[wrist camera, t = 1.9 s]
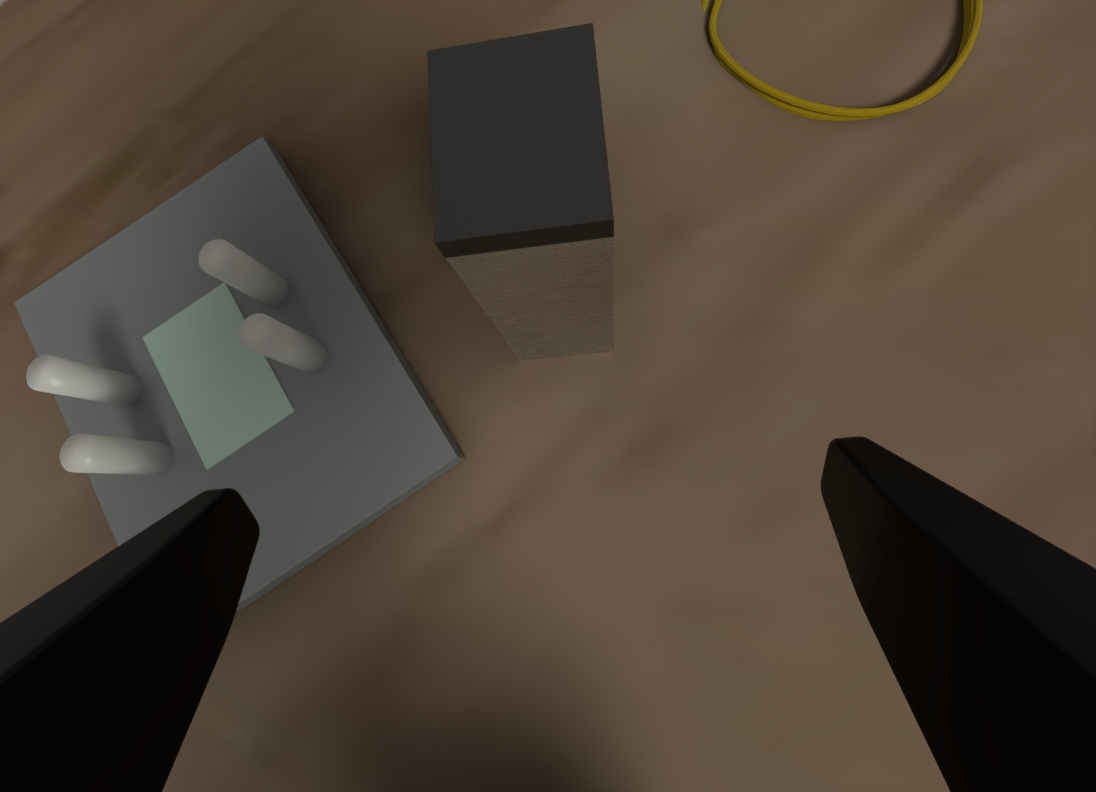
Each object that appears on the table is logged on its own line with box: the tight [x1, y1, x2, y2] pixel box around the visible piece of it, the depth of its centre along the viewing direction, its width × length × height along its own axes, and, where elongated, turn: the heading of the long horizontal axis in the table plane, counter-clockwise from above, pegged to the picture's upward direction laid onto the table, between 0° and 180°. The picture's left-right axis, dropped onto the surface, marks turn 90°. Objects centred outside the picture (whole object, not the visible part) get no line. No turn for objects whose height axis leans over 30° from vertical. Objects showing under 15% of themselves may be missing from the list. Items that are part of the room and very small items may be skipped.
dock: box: [15, 136, 466, 614], centre depth 22 cm, size 18×14×5 cm
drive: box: [427, 23, 614, 361], centre depth 17 cm, size 5×4×11 cm
